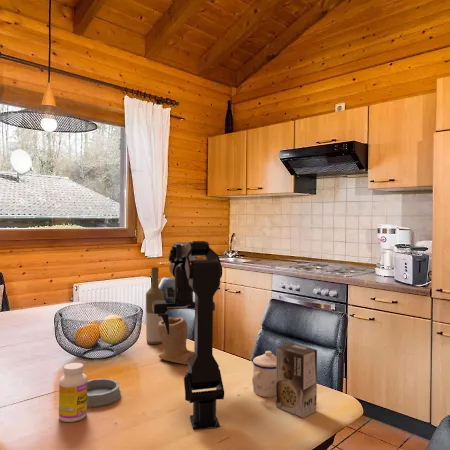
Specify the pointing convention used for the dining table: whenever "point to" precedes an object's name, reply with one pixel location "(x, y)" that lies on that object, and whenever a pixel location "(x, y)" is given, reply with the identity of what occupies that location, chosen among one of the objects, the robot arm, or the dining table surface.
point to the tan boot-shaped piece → (174, 341)
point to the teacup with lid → (264, 375)
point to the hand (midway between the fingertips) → (182, 333)
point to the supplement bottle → (73, 393)
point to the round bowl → (102, 392)
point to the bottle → (152, 318)
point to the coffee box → (296, 379)
